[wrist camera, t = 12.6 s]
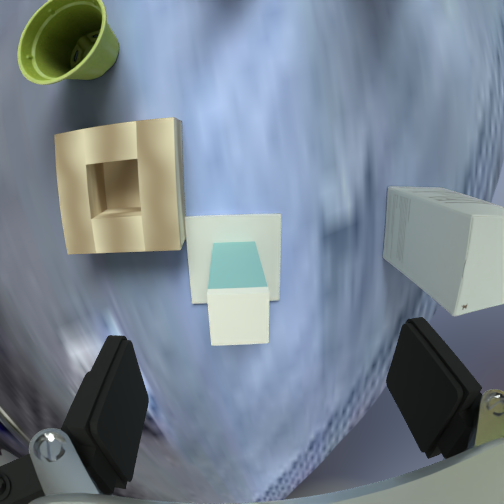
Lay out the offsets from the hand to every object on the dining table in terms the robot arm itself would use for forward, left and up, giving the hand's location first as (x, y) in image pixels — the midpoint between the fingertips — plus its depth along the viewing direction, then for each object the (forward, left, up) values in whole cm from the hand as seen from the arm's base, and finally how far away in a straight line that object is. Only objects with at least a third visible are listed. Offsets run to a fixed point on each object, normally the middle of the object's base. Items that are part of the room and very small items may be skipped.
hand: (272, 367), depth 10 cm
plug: (+1, +5, -24) cm, 24 cm away
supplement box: (-21, +1, -25) cm, 33 cm away
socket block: (+12, -4, -24) cm, 27 cm away
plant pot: (+16, -19, -25) cm, 35 cm away
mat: (+1, +5, -24) cm, 25 cm away
